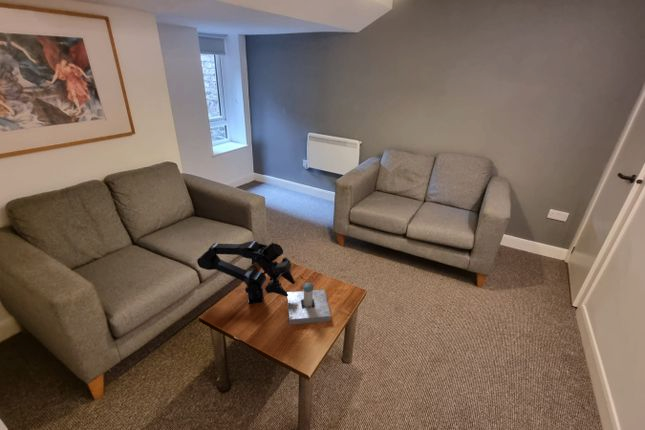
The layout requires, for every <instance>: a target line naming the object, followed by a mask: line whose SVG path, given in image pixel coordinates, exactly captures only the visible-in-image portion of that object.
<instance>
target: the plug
mask: <svg viewBox="0 0 645 430" xmlns="http://www.w3.org/2000/svg"><path fill="white" fill-rule="evenodd" d="M313 290H314V284H313V283H312V282H305V283H303V285H302V291H304V305H303V309H304V308H313V304H312V297H313Z"/></svg>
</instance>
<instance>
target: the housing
mask: <svg viewBox="0 0 645 430" xmlns="http://www.w3.org/2000/svg"><path fill="white" fill-rule="evenodd" d="M325 290H326V289H315V290H314V289H313V297H312V305H313V307H312V308H304V307H303V306H304V290H302V291H301V290H300V291H286V292H287V294H288V296H287V297H286V298H287V299H286V300H287V312H288V324H289V326H291V325H302V324H313V323H324V322H325V323H327V322H331V321H332V320H331V318H332V314H331V310H330V307H329V303H328V300H327V294H326V291H325ZM302 305H303V306H302Z"/></svg>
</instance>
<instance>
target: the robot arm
mask: <svg viewBox="0 0 645 430" xmlns="http://www.w3.org/2000/svg"><path fill="white" fill-rule="evenodd" d="M283 254H284V249H283V247H282V246H281V245H280V244H278V243H274V242H270V243H269V244H268V245H267V244H264V243H260V242H258V241H256V240H251V241H246V242H244V243H220V242H214V243H213V244H211V246H210V247H209V248H208V249H207V251H205V252H204V253H202V255H200V256H199V257H198V259H197V260H196V263H197V265H198V267H199V268H201V269H202V270H203V269H204V270H207V271H214V270H216V271H218V272H221V273H222V274H226V275H228V276H231V277H232V278H235V279H237V280H240V281H242V282H244V284H245V285H246V287H245V289H244V290H245V293H246V294H247V296H248V297H247V298H248V299H247V300H248V301H247V303H248V304H258V303H263V299H264V290H265V292H266V293H267V294H269V295H270V294H272V293H273V294H277V295H280V296H283V297H286V298H287V296H288V294H287V292H288V291H286V290H285V289H284V287H282V283H281V282H280V278H281V277H282V278H283V279H285V280H286V281H288V282H289V283H291V284H293V285H295V284H296V282H295V279H294V276H293V275H292V273H291V269H292V263H291V261H290V260H289V258H287V256H285V257H283V258H282V260H281V261H280V262H277V261H276V260H277V259H278V258H279V257H280V256H282V255H283ZM219 255H229V256H230V255H231V256H241V257H242V258H244V259H249V260H251V265H254V264H256V265H257V266H258V267H259V268H260V269H261V270H259V269H257V268H253V269H252V270H250V271H249V270H246V269H244V268H243V267H239V266H237V265H234V264H232V263H229V262H227V261H225V260H222V259H221V258H220V257H219ZM266 275H267V276H268V277H269V282H268V283H267V284H266V286H265V287H264V288H263V286H264V284H265V283H266V282H267V276H266Z"/></svg>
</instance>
